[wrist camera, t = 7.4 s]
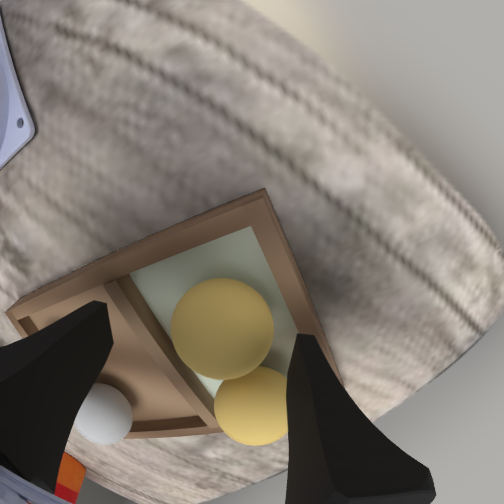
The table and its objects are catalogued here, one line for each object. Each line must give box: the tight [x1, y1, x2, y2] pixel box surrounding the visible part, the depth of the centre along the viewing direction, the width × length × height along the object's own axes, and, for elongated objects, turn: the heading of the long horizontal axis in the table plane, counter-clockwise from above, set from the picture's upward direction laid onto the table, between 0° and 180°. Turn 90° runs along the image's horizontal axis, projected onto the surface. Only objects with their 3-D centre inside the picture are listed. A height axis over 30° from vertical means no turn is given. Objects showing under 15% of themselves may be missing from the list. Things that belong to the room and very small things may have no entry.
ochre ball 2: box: [214, 366, 288, 446], centre depth 14 cm, size 4×4×4 cm
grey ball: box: [74, 383, 133, 445], centre depth 16 cm, size 4×4×4 cm
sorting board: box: [5, 188, 344, 439], centre depth 16 cm, size 12×17×2 cm
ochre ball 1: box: [171, 278, 274, 380], centre depth 12 cm, size 4×4×4 cm
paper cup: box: [26, 452, 86, 504], centre depth 21 cm, size 8×8×14 cm
